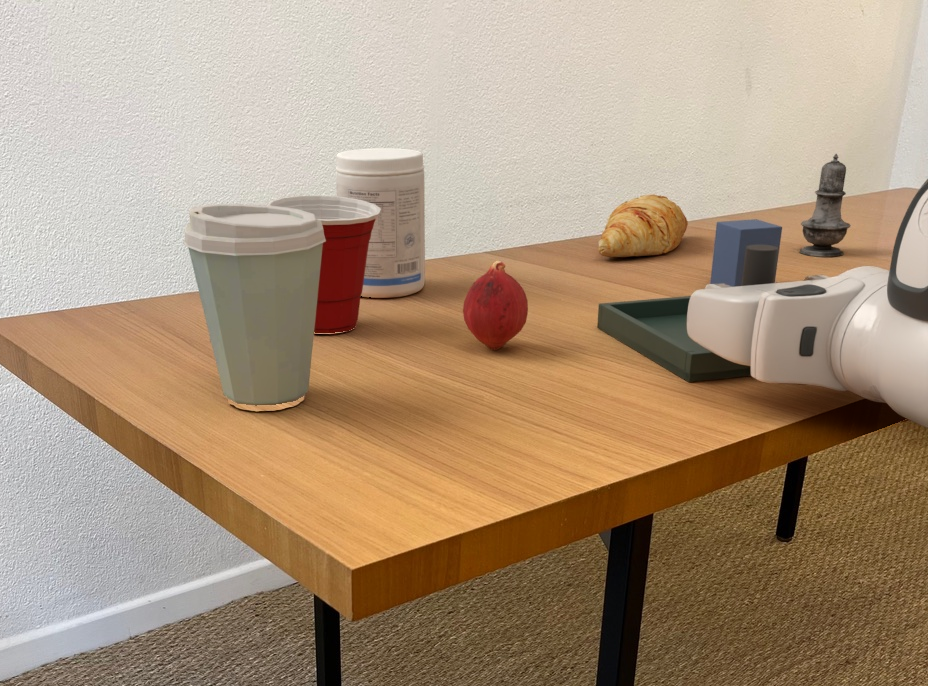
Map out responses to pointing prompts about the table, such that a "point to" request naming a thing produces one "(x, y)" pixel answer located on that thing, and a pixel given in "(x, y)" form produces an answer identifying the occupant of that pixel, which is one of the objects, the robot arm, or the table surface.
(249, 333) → the disposable coffee cup
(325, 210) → the plastic cup
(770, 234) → the block
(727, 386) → the table surface
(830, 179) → the salt shaker
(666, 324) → the tray
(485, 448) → the table surface
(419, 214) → the supplement tub
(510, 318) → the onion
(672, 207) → the croissant
